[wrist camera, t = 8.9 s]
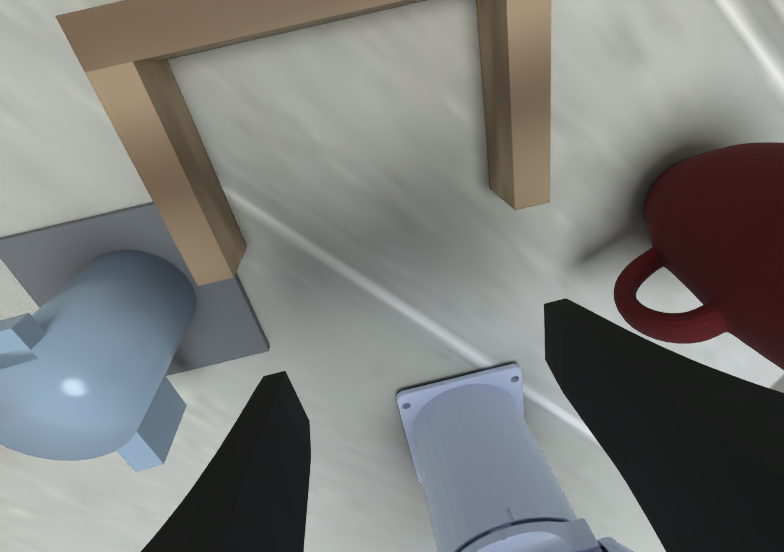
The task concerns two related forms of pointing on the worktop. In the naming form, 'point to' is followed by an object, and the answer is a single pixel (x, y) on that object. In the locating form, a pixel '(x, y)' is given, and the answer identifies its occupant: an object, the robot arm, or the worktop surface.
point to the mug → (716, 249)
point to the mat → (148, 234)
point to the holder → (266, 18)
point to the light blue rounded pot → (98, 364)
